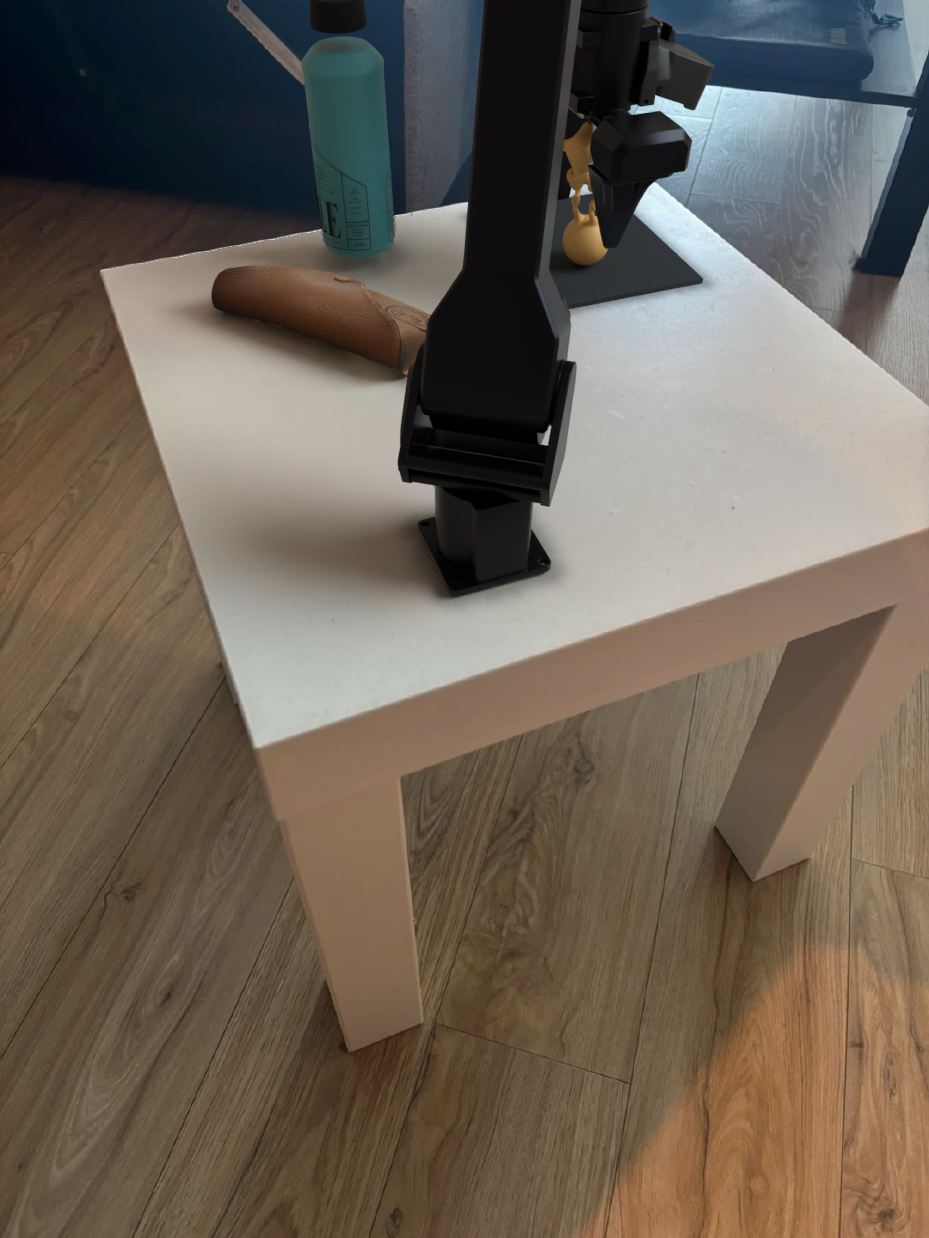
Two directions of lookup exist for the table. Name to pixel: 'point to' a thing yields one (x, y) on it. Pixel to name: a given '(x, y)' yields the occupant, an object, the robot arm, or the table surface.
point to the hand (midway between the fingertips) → (585, 222)
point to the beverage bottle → (349, 133)
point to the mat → (616, 263)
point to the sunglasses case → (324, 311)
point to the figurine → (584, 229)
